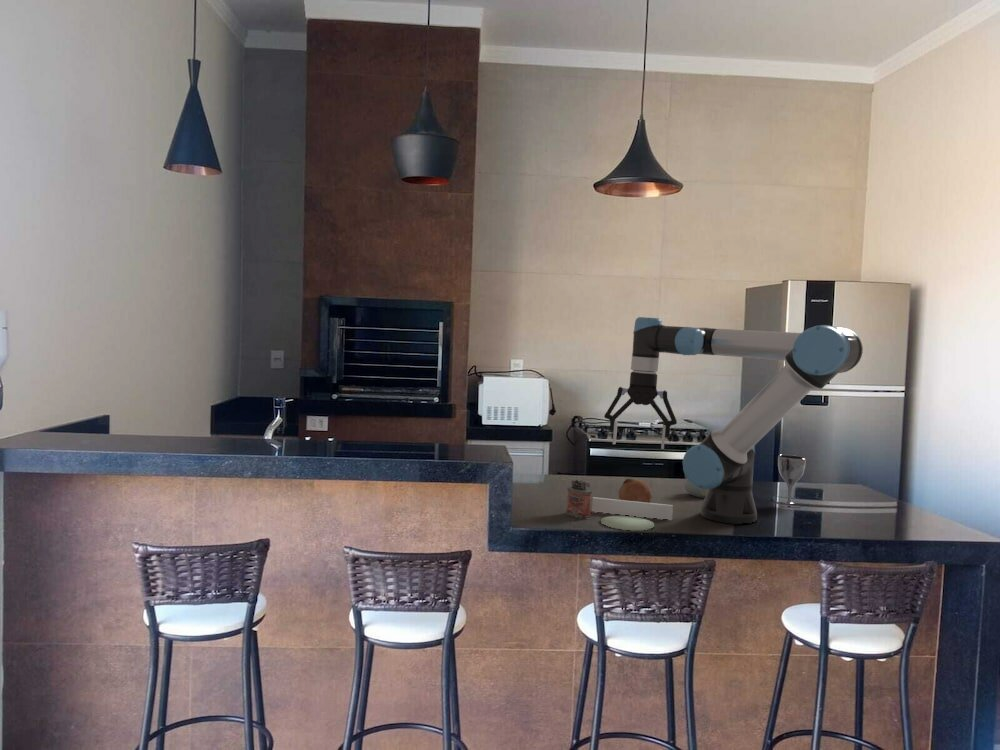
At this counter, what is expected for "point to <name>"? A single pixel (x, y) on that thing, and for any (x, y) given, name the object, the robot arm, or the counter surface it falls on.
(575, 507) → the lighter
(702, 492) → the air freshener
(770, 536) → the counter surface
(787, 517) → the counter surface
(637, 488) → the onion
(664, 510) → the low wall
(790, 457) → the wine glass
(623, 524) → the pad
